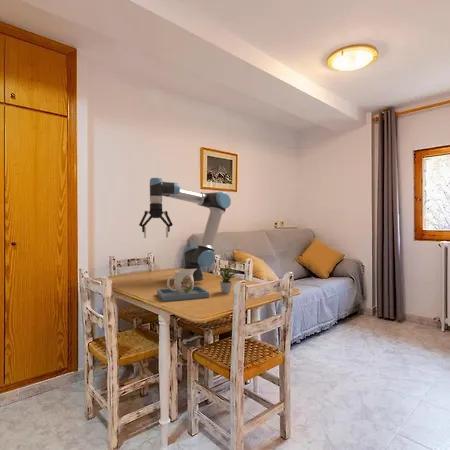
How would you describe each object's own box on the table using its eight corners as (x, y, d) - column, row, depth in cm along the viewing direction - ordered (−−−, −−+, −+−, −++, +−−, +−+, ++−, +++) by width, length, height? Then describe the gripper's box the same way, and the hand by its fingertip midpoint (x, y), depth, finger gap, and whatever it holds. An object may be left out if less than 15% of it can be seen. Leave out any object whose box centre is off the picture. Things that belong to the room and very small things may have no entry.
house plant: (217, 296, 182) (217, 267, 182) (208, 291, 195) (208, 264, 194) (240, 294, 188) (240, 265, 187) (230, 289, 200) (230, 262, 200)
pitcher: (163, 294, 182) (163, 270, 182) (192, 290, 192) (192, 267, 192) (171, 298, 173) (171, 273, 173) (201, 294, 183) (201, 270, 182)
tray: (198, 290, 196) (198, 286, 196) (208, 297, 179) (208, 292, 179) (157, 294, 186) (157, 289, 186) (163, 302, 169) (163, 296, 169)
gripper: (174, 203, 209) (174, 236, 209) (134, 202, 200) (134, 237, 200) (177, 203, 202) (177, 237, 203) (136, 202, 193) (136, 238, 193)
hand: (156, 237), depth 201 cm, fingers open, 13 cm apart
